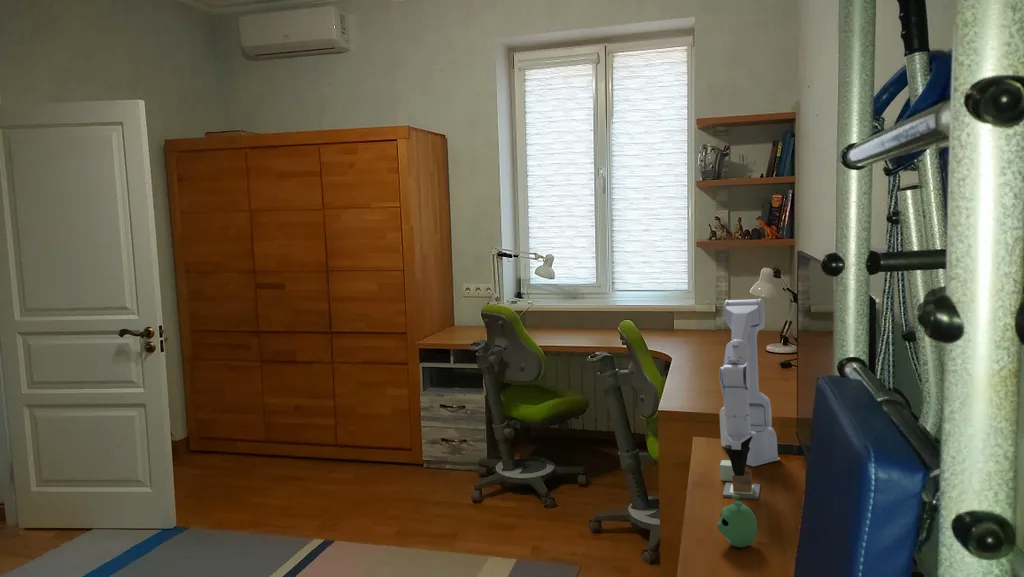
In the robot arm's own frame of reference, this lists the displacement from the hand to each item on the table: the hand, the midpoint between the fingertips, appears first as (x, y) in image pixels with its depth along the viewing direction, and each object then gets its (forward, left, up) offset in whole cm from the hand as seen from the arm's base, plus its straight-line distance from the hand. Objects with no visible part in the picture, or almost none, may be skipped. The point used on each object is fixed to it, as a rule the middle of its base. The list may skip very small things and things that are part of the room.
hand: (740, 469), depth 167 cm
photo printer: (-23, -29, -6) cm, 38 cm away
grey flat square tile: (0, 0, -5) cm, 5 cm away
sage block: (-4, -9, -6) cm, 11 cm away
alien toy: (+20, +22, -6) cm, 30 cm away
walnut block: (0, 0, -5) cm, 5 cm away
